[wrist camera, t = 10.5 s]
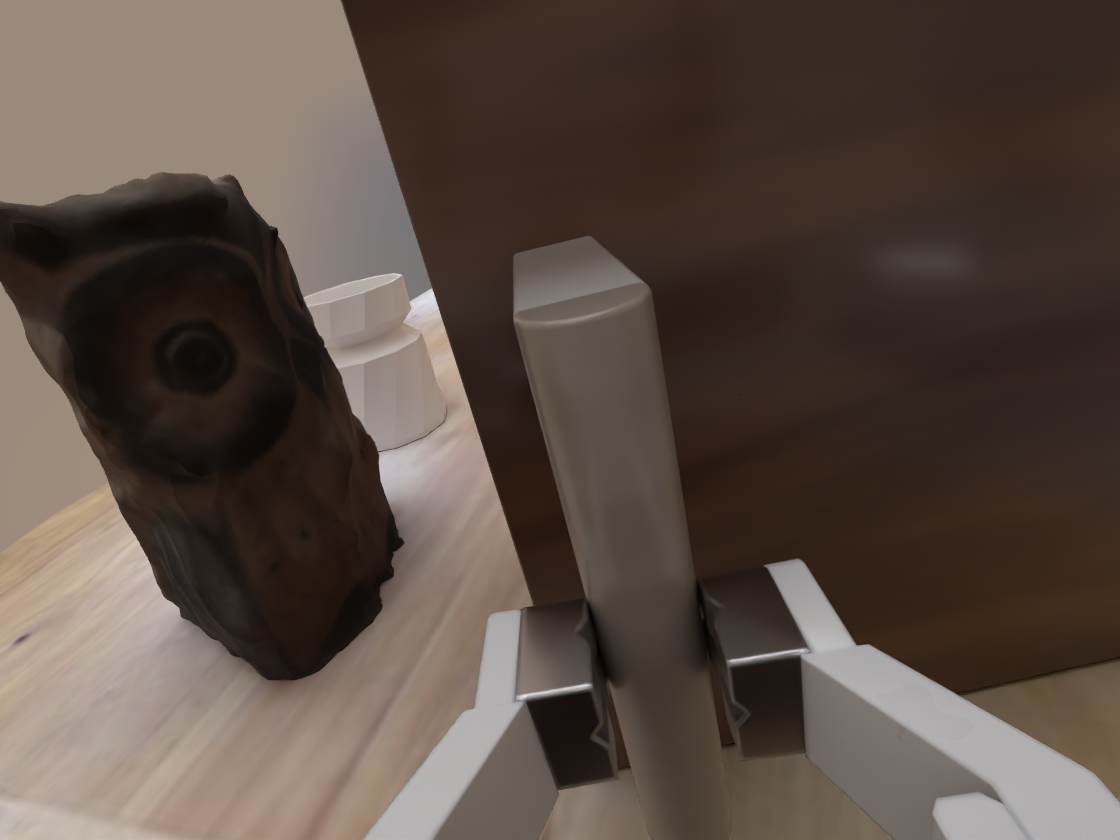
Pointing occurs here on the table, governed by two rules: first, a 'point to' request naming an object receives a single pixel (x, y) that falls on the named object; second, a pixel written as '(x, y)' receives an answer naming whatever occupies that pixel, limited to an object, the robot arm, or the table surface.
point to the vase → (380, 358)
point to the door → (778, 322)
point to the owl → (209, 410)
